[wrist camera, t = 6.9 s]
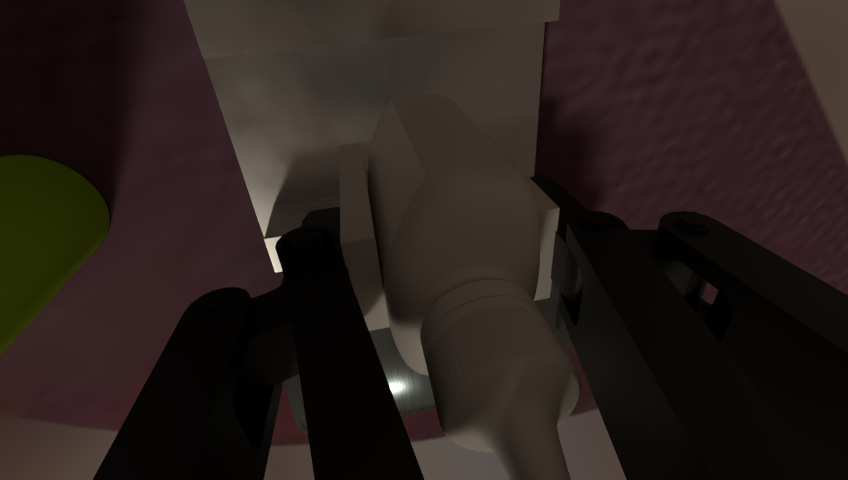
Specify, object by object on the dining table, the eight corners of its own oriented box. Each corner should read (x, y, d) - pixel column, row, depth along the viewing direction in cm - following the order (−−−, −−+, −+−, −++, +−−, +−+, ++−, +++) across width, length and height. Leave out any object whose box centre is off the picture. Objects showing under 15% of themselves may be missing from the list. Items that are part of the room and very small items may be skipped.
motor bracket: (190, -5, 18) (87, 7, 11) (579, -40, 20) (725, -53, 13) (306, 349, 30) (296, 472, 22) (544, 305, 32) (608, 405, 24)
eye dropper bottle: (323, 197, 16) (300, 580, 6) (408, 66, 14) (600, 291, 4) (416, 246, 18) (522, 599, 8) (502, 136, 16) (797, 413, 6)
